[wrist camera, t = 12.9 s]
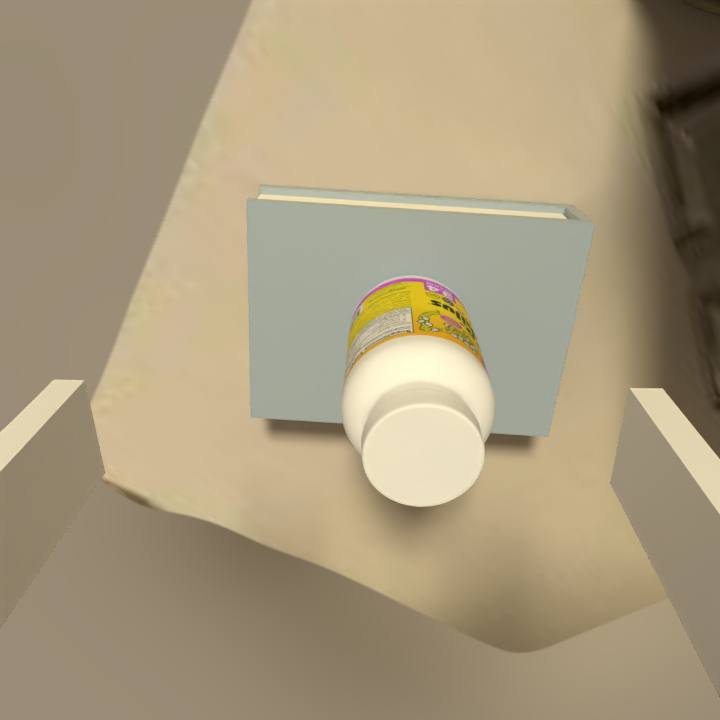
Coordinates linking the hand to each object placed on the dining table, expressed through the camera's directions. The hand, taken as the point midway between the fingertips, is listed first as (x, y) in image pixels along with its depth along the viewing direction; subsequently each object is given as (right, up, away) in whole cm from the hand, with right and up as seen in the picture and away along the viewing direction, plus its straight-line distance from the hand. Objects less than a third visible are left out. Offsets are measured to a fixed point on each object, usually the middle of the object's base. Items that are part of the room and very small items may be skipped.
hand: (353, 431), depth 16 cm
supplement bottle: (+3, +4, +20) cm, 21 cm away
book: (+3, +5, +24) cm, 25 cm away
